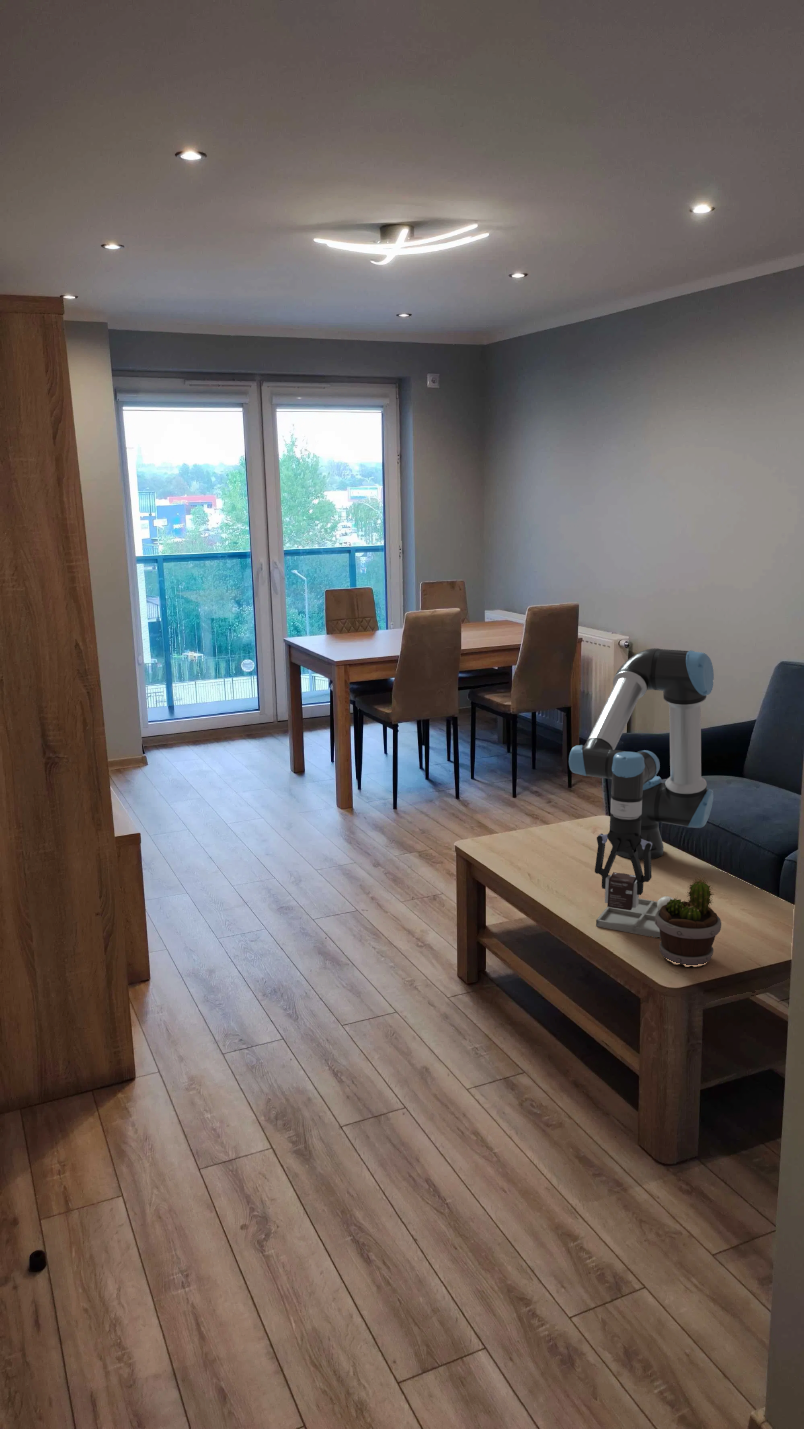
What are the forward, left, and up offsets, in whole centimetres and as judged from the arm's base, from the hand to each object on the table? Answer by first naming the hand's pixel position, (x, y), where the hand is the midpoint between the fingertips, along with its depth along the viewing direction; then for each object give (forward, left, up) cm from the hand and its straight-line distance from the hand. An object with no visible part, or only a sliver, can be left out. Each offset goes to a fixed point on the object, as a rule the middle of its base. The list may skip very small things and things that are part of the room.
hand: (621, 903), depth 252 cm
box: (0, 0, -1) cm, 1 cm away
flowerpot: (+13, +19, -5) cm, 24 cm away
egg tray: (-5, +5, -5) cm, 8 cm away
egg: (-9, +9, -5) cm, 14 cm away
